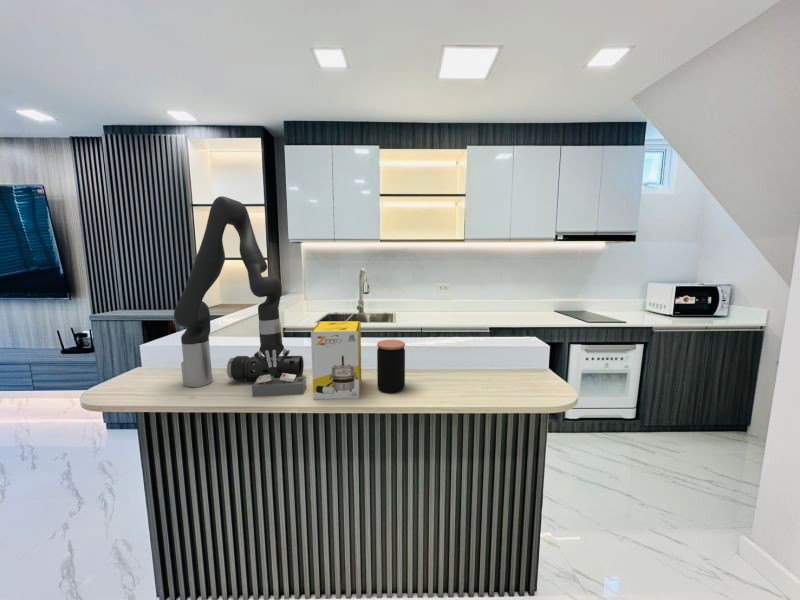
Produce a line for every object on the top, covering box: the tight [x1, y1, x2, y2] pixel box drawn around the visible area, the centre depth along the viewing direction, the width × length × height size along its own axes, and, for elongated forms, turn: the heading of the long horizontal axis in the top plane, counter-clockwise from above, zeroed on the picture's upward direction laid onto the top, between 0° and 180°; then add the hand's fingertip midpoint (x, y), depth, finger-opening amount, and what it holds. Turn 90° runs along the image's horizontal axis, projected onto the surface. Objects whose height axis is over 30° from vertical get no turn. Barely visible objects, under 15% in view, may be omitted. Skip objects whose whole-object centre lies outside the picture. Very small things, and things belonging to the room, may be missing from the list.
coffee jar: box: [376, 339, 406, 394], centre depth 127 cm, size 11×11×18 cm
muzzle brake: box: [226, 355, 305, 382], centre depth 135 cm, size 10×28×10 cm, turn 93°
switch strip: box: [251, 376, 307, 398], centre depth 125 cm, size 18×7×4 cm, turn 97°
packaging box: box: [310, 320, 362, 401], centre depth 125 cm, size 16×16×25 cm
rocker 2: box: [280, 373, 296, 382], centre depth 125 cm, size 5×4×1 cm
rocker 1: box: [257, 374, 273, 383], centre depth 123 cm, size 5×4×1 cm
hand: (274, 375), depth 124 cm, fingers closed
